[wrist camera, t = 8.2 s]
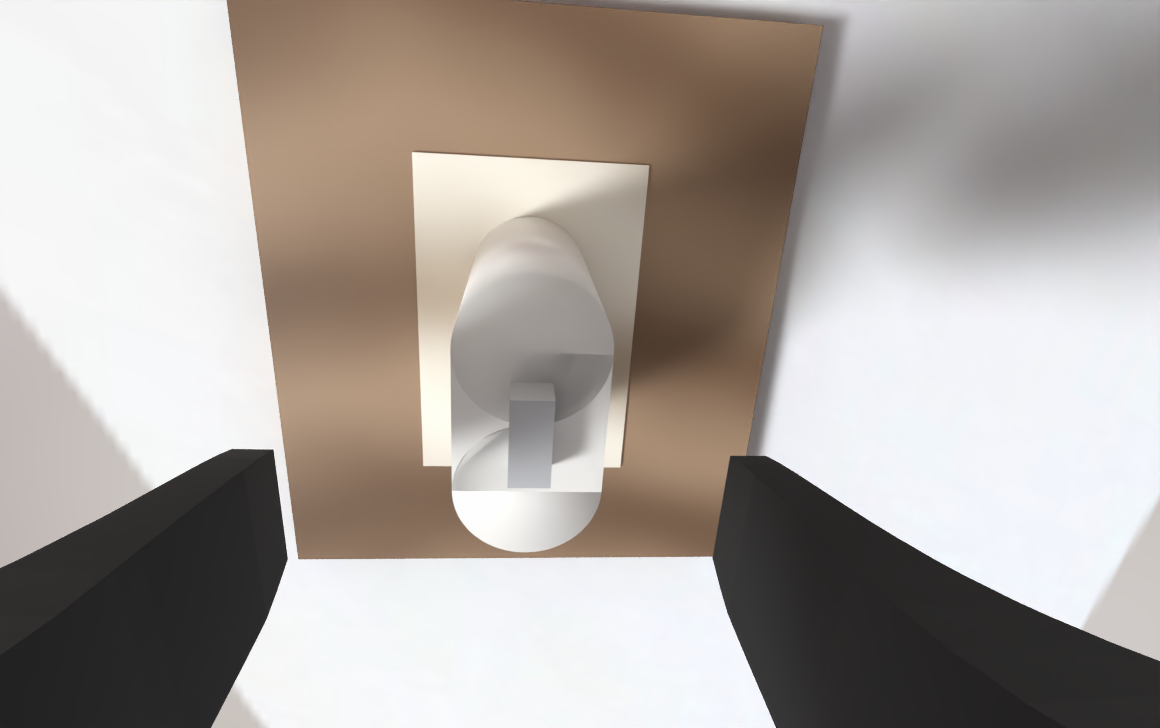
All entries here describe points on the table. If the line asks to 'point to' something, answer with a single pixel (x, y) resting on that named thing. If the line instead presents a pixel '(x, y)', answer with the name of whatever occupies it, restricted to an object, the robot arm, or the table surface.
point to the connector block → (529, 389)
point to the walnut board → (495, 195)
